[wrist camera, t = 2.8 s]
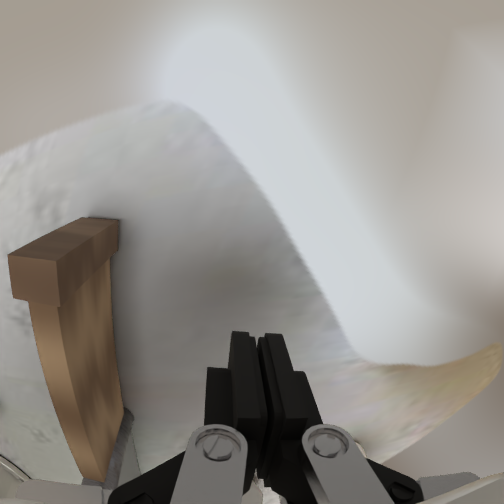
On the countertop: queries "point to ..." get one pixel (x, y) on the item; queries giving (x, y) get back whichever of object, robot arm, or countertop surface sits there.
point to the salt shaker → (253, 495)
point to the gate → (75, 333)
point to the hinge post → (116, 455)
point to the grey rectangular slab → (129, 464)
